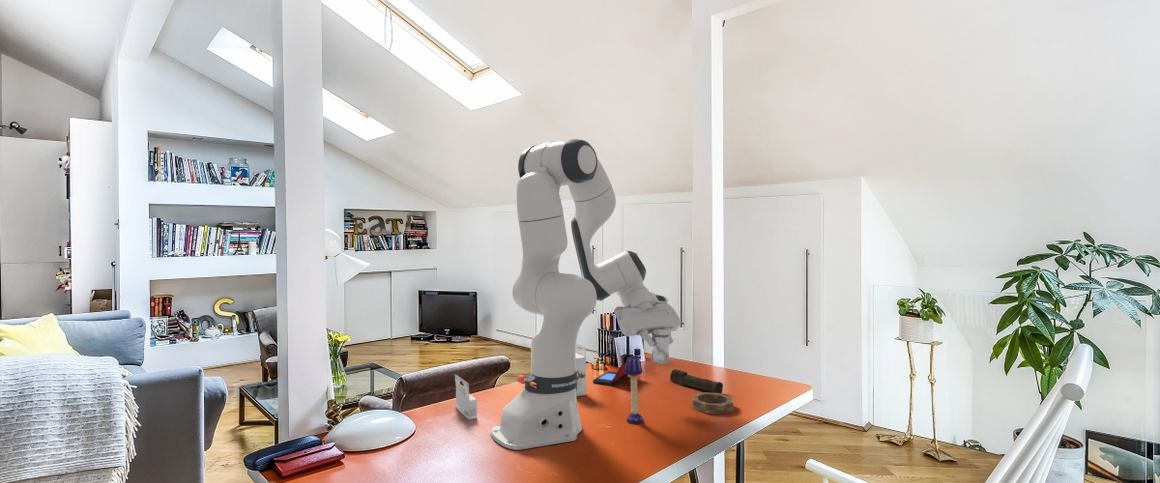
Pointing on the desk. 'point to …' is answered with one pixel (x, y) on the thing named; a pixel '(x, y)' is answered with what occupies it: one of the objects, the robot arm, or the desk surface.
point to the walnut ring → (712, 403)
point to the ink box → (580, 369)
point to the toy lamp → (634, 388)
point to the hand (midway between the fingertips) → (662, 344)
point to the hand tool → (695, 382)
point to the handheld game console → (611, 377)
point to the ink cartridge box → (465, 399)
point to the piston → (660, 345)
